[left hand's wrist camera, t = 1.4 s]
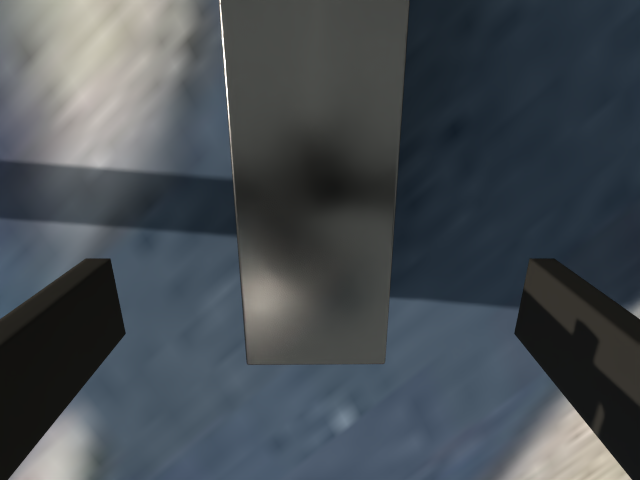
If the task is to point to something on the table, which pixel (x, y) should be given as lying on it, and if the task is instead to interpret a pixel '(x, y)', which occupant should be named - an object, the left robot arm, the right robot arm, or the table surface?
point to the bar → (315, 172)
